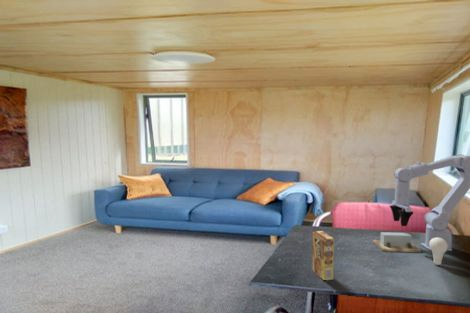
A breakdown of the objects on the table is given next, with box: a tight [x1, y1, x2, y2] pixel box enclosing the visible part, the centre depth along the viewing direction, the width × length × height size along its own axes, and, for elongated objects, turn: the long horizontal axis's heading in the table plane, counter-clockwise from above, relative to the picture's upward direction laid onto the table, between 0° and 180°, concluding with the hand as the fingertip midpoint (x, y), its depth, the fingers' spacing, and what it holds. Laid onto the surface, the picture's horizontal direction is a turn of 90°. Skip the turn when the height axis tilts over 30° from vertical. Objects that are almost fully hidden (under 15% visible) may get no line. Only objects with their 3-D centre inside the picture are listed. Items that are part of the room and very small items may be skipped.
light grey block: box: [379, 231, 413, 246], centre depth 143 cm, size 12×4×5 cm, turn 86°
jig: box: [372, 239, 421, 253], centre depth 143 cm, size 16×12×3 cm
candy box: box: [312, 230, 335, 281], centre depth 115 cm, size 9×4×15 cm, turn 13°
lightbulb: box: [429, 237, 448, 266], centre depth 123 cm, size 6×6×11 cm
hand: (400, 223), depth 144 cm, fingers open, 7 cm apart
